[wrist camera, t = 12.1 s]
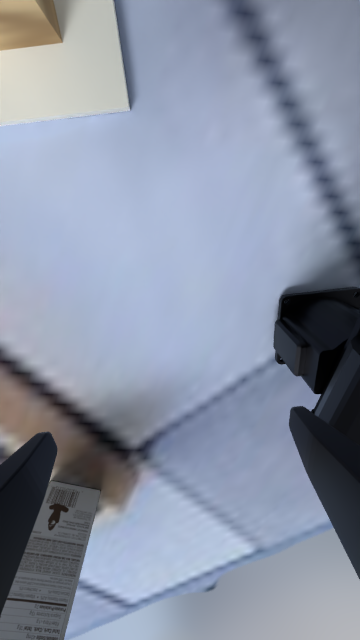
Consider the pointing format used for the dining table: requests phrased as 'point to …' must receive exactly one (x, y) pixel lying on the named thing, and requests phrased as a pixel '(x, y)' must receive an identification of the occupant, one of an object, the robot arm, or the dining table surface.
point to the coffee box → (50, 565)
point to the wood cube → (28, 24)
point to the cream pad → (67, 69)
